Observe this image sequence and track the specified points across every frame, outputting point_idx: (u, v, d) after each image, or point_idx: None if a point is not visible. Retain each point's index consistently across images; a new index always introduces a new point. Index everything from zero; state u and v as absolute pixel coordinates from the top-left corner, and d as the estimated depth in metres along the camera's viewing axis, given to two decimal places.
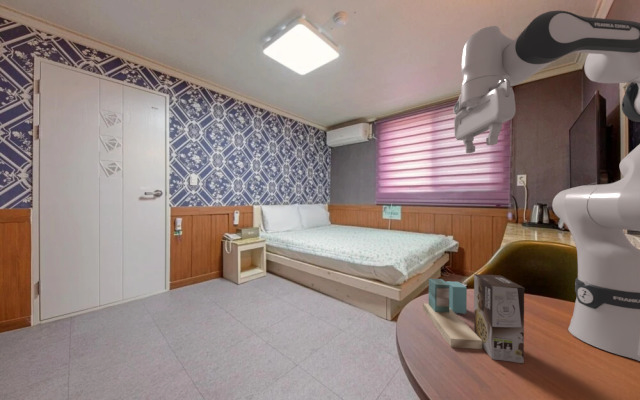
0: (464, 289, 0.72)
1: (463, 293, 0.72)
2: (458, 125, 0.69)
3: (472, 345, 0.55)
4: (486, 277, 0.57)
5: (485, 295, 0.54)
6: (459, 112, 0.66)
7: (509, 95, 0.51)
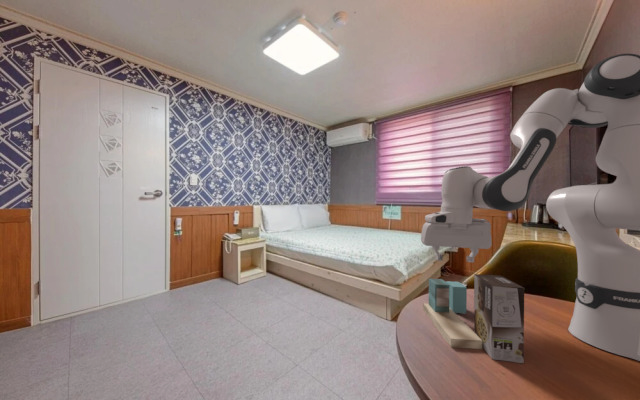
0: (464, 289, 0.72)
1: (463, 293, 0.72)
2: (432, 233, 0.74)
3: (472, 345, 0.55)
4: (486, 277, 0.57)
5: (485, 295, 0.54)
6: (442, 225, 0.73)
7: None
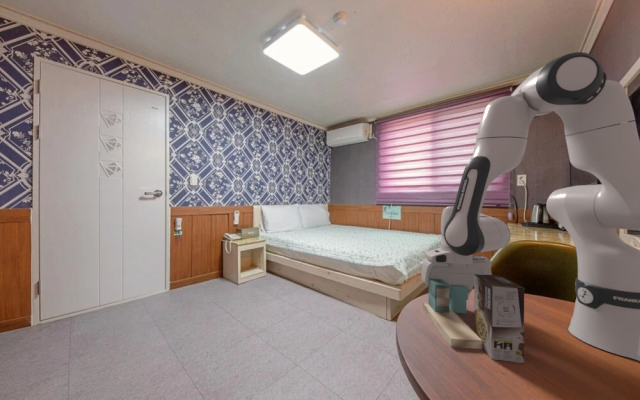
0: (464, 289, 0.72)
1: (463, 293, 0.72)
2: (432, 272, 0.74)
3: (472, 345, 0.55)
4: (486, 277, 0.57)
5: (485, 295, 0.54)
6: (442, 264, 0.72)
7: None
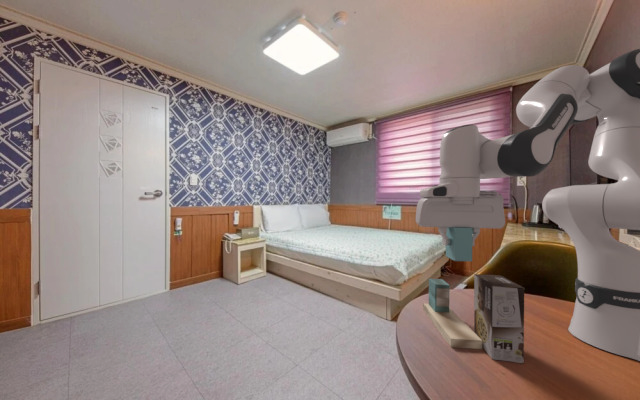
0: (469, 230, 0.57)
1: (468, 236, 0.57)
2: (429, 211, 0.58)
3: (472, 345, 0.55)
4: (486, 277, 0.57)
5: (485, 295, 0.54)
6: (441, 199, 0.57)
7: None
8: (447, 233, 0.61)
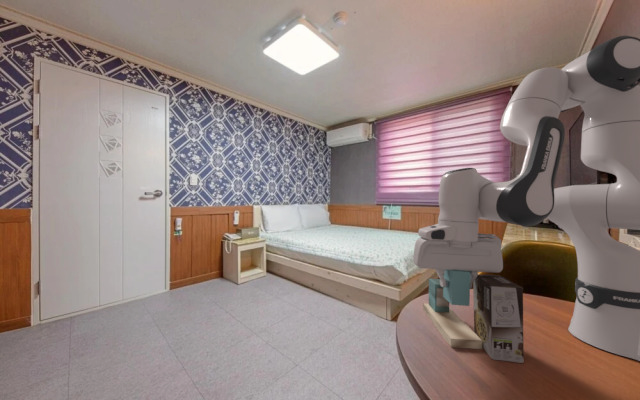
0: (467, 275, 0.56)
1: (466, 280, 0.56)
2: (427, 253, 0.58)
3: (472, 345, 0.55)
4: (484, 277, 0.57)
5: (484, 295, 0.54)
6: (439, 242, 0.57)
7: None
8: (445, 274, 0.61)
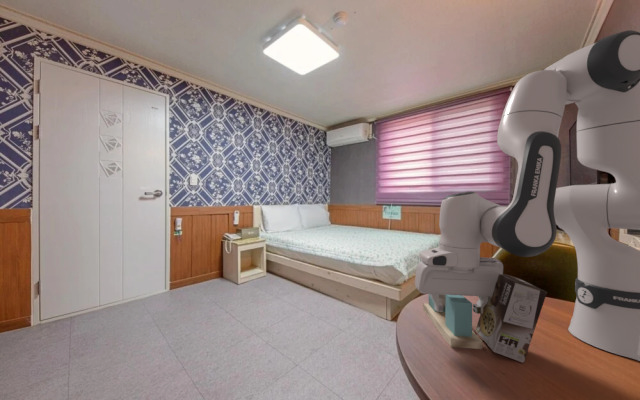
0: (469, 305, 0.56)
1: (468, 311, 0.56)
2: (429, 278, 0.58)
3: (472, 345, 0.55)
4: (506, 276, 0.56)
5: (502, 291, 0.53)
6: (441, 268, 0.57)
7: None
8: (447, 303, 0.60)
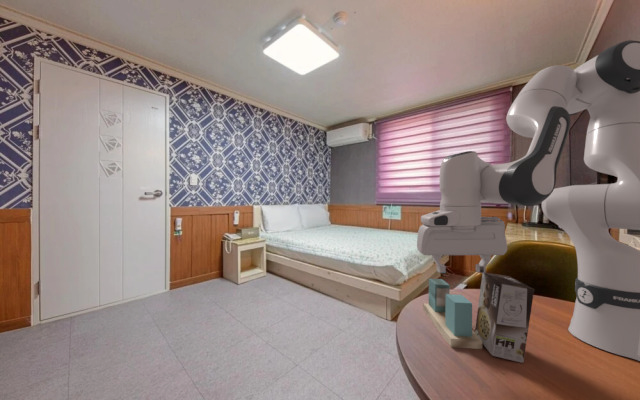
0: (469, 305, 0.56)
1: (468, 311, 0.56)
2: (431, 239, 0.58)
3: (472, 345, 0.55)
4: (494, 276, 0.56)
5: (492, 293, 0.54)
6: (442, 228, 0.56)
7: None
8: (447, 303, 0.60)
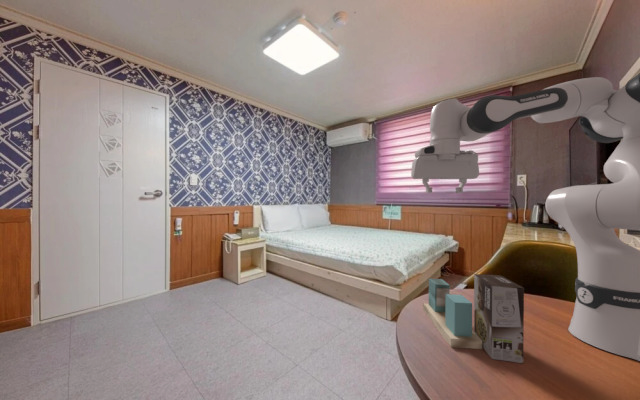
0: (469, 305, 0.56)
1: (468, 311, 0.56)
2: (421, 165, 0.76)
3: (472, 345, 0.55)
4: (486, 277, 0.57)
5: (484, 295, 0.54)
6: (430, 156, 0.75)
7: None
8: (447, 303, 0.60)
